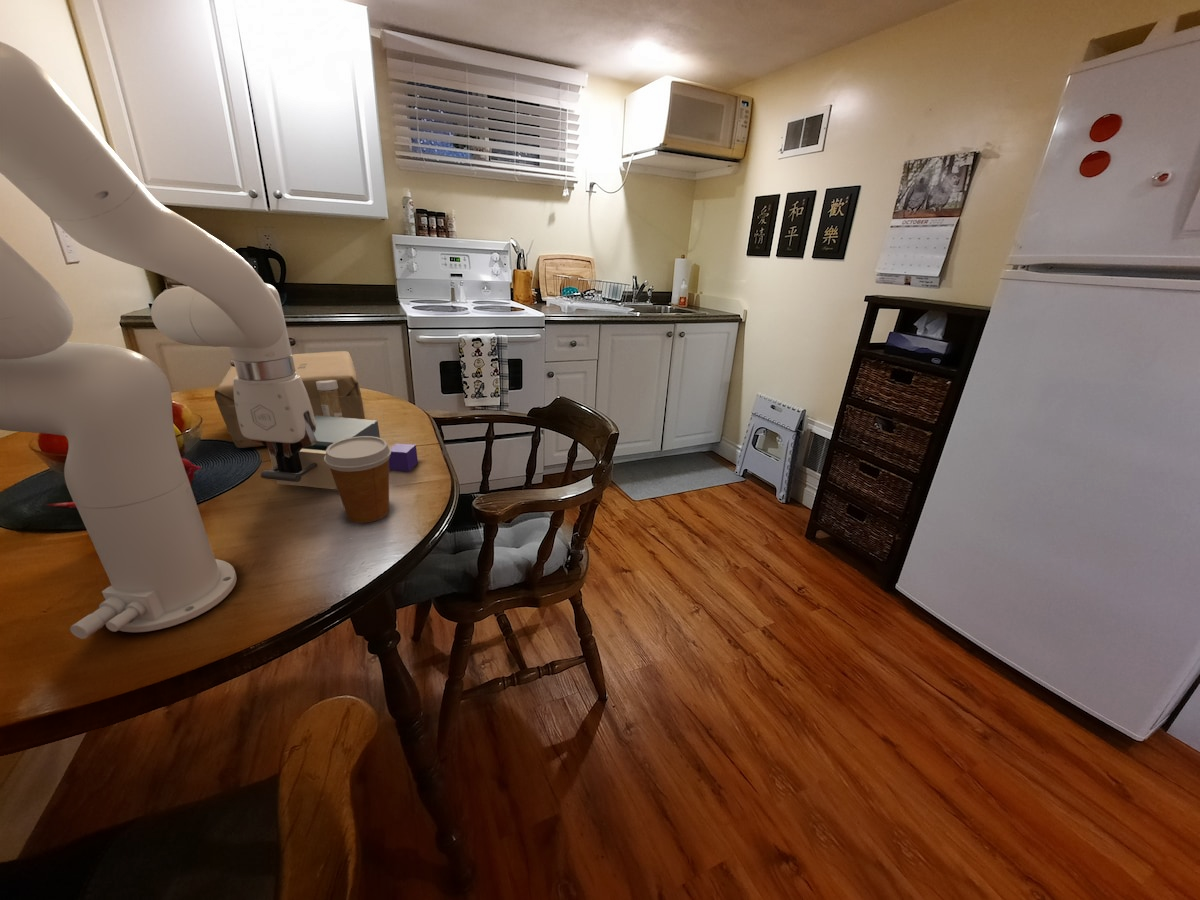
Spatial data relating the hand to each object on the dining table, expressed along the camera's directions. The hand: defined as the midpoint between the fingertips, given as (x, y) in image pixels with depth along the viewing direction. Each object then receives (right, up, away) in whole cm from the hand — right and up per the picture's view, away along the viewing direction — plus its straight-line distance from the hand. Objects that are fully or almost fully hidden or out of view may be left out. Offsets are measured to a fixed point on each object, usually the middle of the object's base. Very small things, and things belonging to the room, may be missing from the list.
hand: (291, 474), depth 82 cm
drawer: (0, -1, +6) cm, 6 cm away
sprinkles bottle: (-6, +7, +26) cm, 27 cm away
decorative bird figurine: (-18, -8, -7) cm, 21 cm away
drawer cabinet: (+1, 0, +12) cm, 12 cm away
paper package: (-17, +10, +32) cm, 38 cm away
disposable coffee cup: (+13, -6, -1) cm, 15 cm away
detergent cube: (+13, +1, +15) cm, 20 cm away
